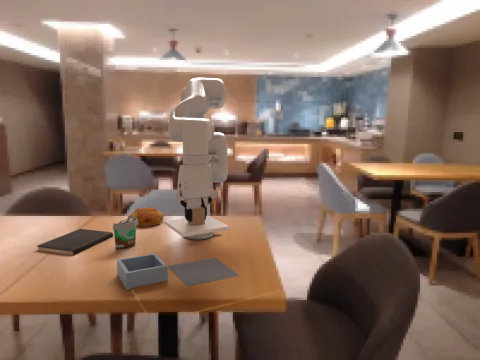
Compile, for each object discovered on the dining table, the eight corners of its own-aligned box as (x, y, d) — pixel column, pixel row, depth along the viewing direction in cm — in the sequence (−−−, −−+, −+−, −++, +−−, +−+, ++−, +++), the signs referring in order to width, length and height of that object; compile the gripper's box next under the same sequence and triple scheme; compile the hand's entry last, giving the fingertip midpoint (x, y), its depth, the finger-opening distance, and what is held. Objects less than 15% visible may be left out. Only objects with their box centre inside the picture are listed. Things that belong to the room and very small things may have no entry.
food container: (129, 251, 139) (128, 224, 137) (113, 250, 140) (112, 223, 138) (144, 241, 151) (143, 216, 149) (129, 240, 152) (128, 215, 150)
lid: (207, 218, 128) (207, 200, 127) (229, 229, 116) (229, 210, 115) (164, 223, 121) (164, 205, 120) (182, 236, 108) (182, 216, 107)
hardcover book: (36, 251, 139) (36, 245, 139) (80, 233, 161) (80, 228, 161) (73, 256, 135) (73, 250, 134) (113, 237, 156) (113, 232, 156)
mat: (215, 258, 133) (215, 257, 133) (239, 276, 118) (239, 275, 118) (167, 267, 124) (167, 266, 124) (187, 288, 110) (187, 286, 110)
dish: (155, 268, 124) (155, 253, 123) (167, 282, 114) (167, 265, 113) (117, 275, 118) (116, 259, 118) (126, 290, 108) (126, 273, 107)
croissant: (130, 224, 182) (127, 207, 181) (164, 218, 186) (161, 202, 184) (129, 232, 169) (126, 214, 167) (165, 225, 172) (162, 208, 170)
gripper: (215, 158, 122) (214, 214, 125) (164, 160, 114) (165, 220, 117) (226, 160, 116) (225, 219, 119) (173, 163, 108) (174, 226, 111)
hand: (195, 219), depth 118 cm, fingers closed on lid, 4 cm apart
